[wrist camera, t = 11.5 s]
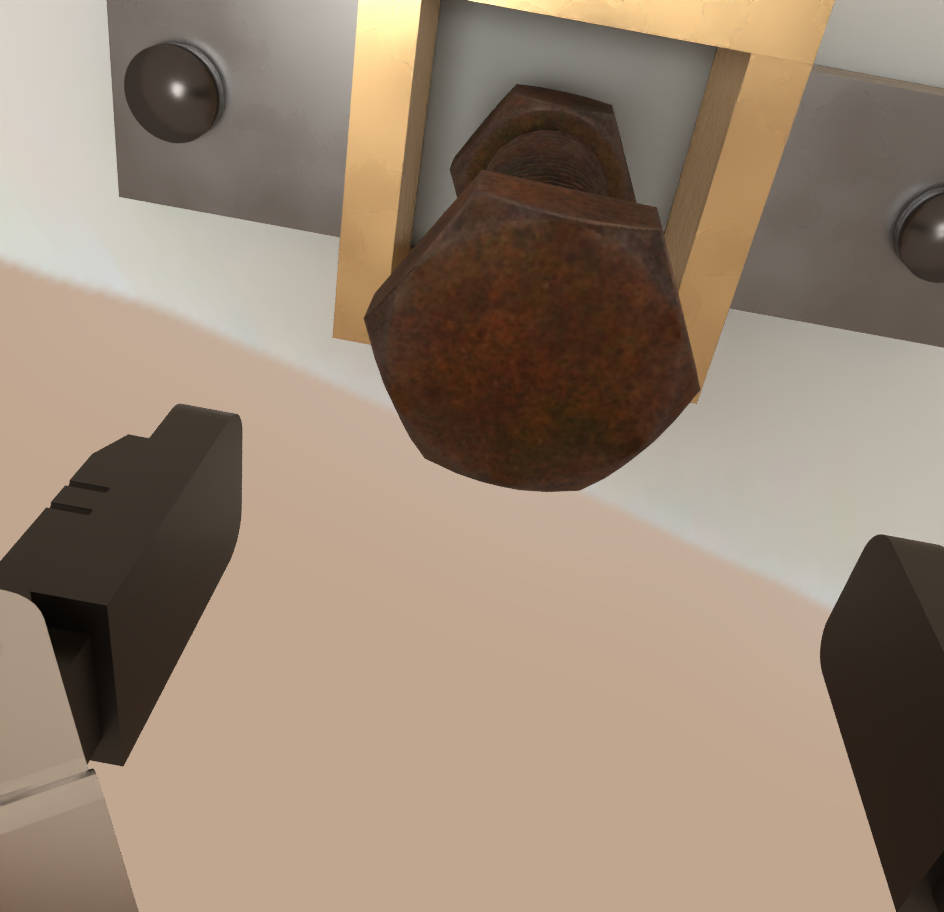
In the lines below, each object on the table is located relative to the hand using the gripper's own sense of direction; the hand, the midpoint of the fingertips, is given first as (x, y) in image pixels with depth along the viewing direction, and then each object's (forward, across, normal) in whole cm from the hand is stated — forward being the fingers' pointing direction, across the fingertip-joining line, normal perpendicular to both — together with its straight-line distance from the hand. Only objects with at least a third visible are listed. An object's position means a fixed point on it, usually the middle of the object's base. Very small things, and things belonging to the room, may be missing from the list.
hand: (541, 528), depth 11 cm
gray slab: (+19, +9, 0) cm, 21 cm away
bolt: (+19, 0, 0) cm, 19 cm away
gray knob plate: (+19, -9, 0) cm, 21 cm away
